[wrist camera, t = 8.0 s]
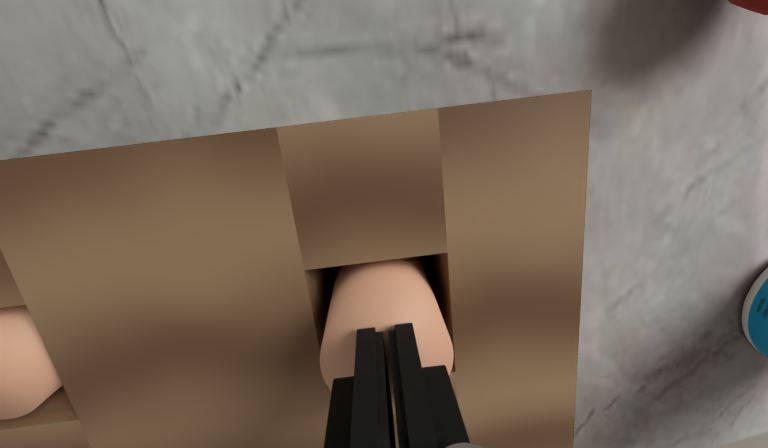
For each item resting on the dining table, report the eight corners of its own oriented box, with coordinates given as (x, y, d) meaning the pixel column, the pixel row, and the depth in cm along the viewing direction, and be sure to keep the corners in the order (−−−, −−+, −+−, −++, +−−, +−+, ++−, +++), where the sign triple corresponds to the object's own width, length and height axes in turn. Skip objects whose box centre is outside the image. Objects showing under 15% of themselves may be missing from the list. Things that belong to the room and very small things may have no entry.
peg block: (-52, 167, 18) (-365, 203, 10) (497, 101, 18) (591, 89, 11) (54, 392, 22) (-114, 540, 14) (501, 336, 22) (572, 451, 15)
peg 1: (76, 250, 19) (-102, 331, 12) (151, 241, 19) (19, 316, 12) (102, 316, 20) (-46, 425, 13) (172, 307, 20) (64, 412, 13)
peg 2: (333, 229, 17) (309, 310, 10) (415, 219, 17) (449, 292, 10) (345, 303, 18) (331, 422, 11) (422, 293, 18) (456, 406, 11)
